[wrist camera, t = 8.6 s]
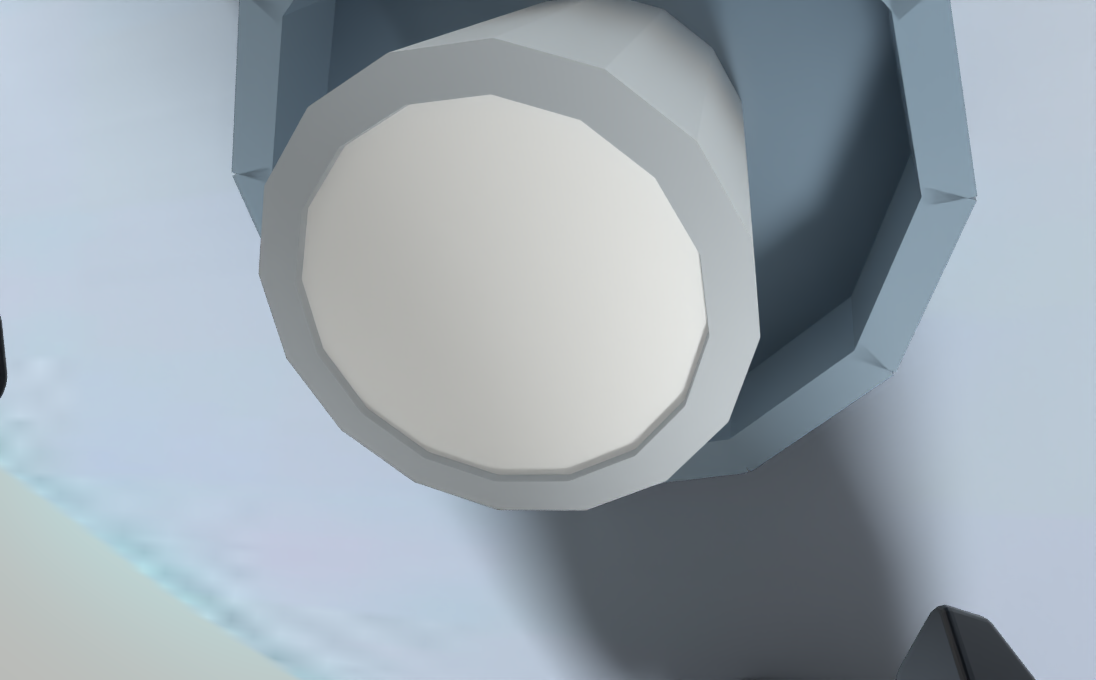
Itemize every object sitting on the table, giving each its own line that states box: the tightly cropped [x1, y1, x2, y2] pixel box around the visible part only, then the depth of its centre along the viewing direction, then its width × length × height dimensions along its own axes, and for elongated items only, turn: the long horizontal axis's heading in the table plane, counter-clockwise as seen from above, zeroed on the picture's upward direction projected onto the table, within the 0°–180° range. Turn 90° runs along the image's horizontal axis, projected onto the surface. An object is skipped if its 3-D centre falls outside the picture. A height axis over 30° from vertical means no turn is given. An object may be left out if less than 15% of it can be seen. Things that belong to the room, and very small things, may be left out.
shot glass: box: [259, 0, 760, 510], centre depth 16 cm, size 7×7×7 cm
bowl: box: [232, 0, 977, 483], centre depth 18 cm, size 13×13×3 cm
